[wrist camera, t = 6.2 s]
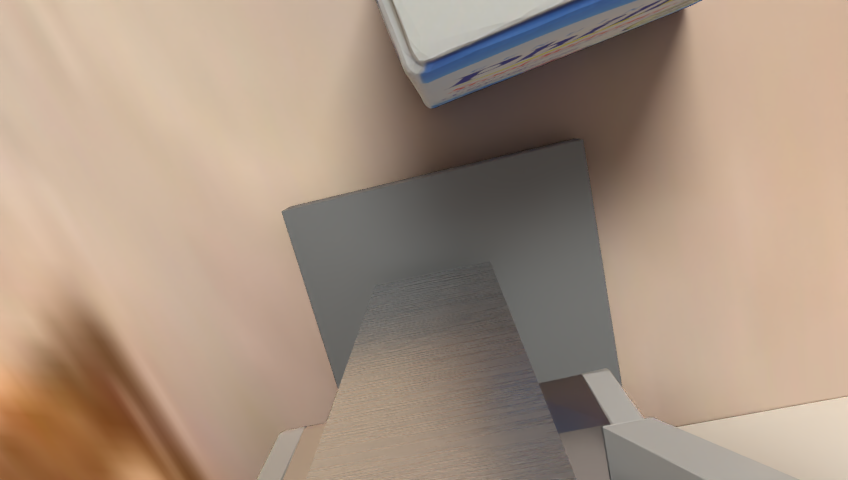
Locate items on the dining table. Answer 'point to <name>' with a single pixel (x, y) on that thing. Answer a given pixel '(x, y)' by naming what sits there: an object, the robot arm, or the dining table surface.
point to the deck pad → (469, 252)
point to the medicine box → (501, 37)
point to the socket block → (788, 438)
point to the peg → (440, 390)
